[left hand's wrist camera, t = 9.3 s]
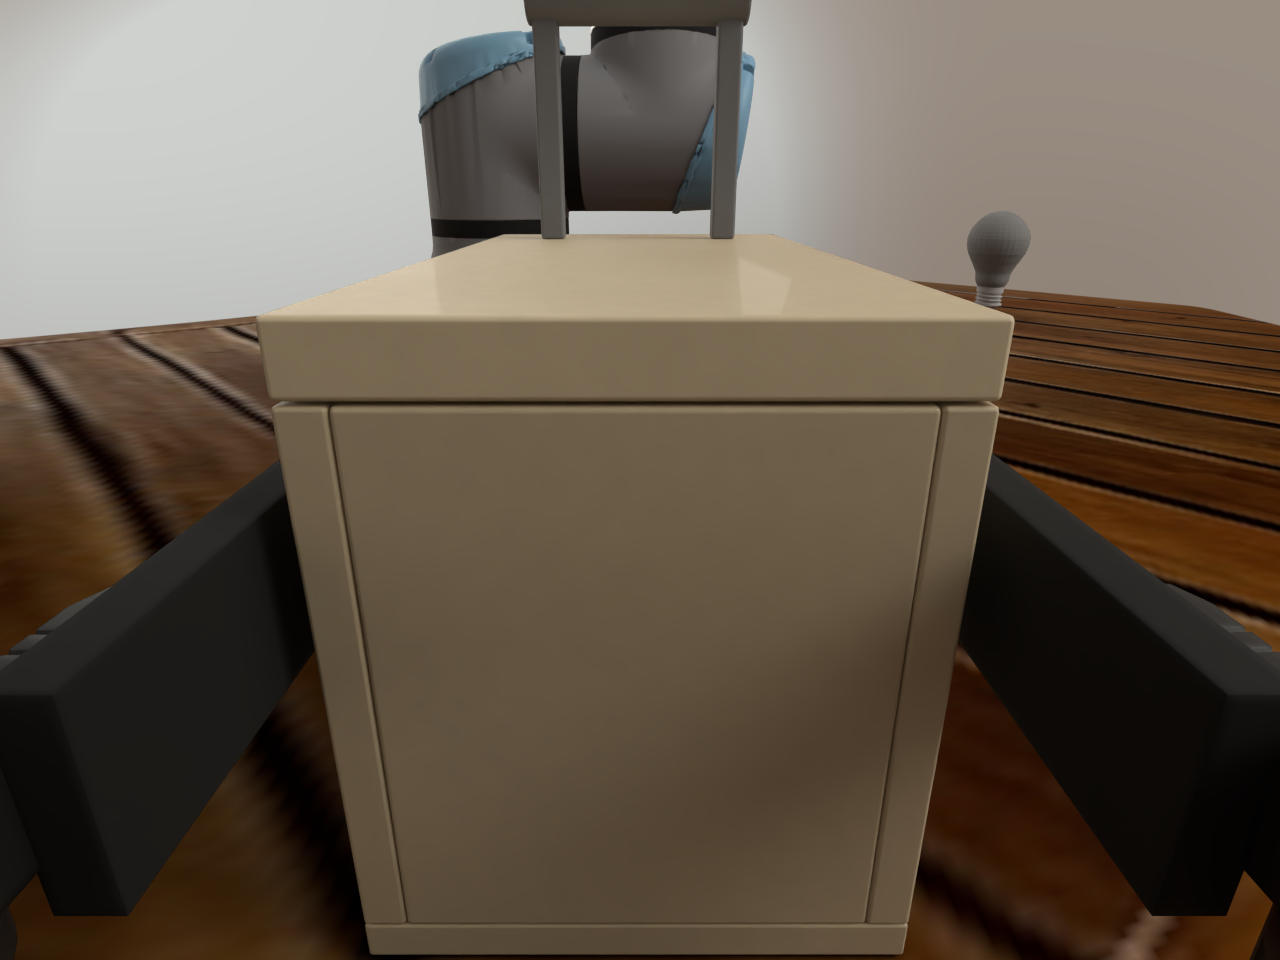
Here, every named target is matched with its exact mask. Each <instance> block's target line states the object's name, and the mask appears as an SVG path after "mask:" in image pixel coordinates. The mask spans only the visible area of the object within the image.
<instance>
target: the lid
mask: <svg viewBox="0 0 1280 960" xmlns="http://www.w3.org/2000/svg"><path fill="white" fill-rule="evenodd" d="M751 1H752V0H524V7H525V14H526V18H527V22H528V24H529V25H530V26H532V34H533V56H534V78H535V100H536V122H537V144H538V167H539V189H540V211H541V233H542V234H504V235H501V236H498V237H495V238H492V239H489V240H485V241H482V242H479V243H476V244H473V245H470V246H467V247H464V248H461V249H458V250H455V251H452V252H449V253H446V254H443V255H440V256H437V257H434V258H431V259H428V260H425V261H422V262H419V263H416V264H413V265H410V266H407V267H404V268H401V269H398V270H395V271H392V272H389V273H386V274H383V275H380V276H377V277H374V278H371V279H368V280H365V281H362V282H359V283H355V284H352V285H349V286H346V287H343V288H340V289H337V290H334V291H331V292H328V293H325V294H322V295H319V296H316V297H313V298H310V299H307V300H304V301H301V302H298V303H295V304H292V305H289V306H286V307H283V308H280V309H277V310H274V311H271V312H268V313H265V314H262V315H259V316H257V317H256V322H255V324H256V329H257V335H258V340H259V345H260V351H261V356H262V362H263V367H264V373H265V378H266V384H267V389H268V395H269V397H270V399H271V400H274V401H996V400H999V399H1000V398H1001V396H1002V390H1003V385H1004V379H1005V373H1006V368H1007V362H1008V357H1009V351H1010V345H1011V340H1012V334H1013V328H1014V317H1013V316H1011V315H1008V314H1006V313H1003V312H1000V311H997V310H994V309H991V308H988V307H985V306H982V305H979V304H976V303H973V302H970V301H967V300H964V299H961V298H958V297H955V296H952V295H950V294H947V293H944V292H941V291H938V290H935V289H932V288H929V287H926V286H923V285H920V284H917V283H914V282H911V281H908V280H905V279H902V278H899V277H896V276H894V275H891V274H887V273H885V272H882V271H879V270H876V269H873V268H870V267H867V266H864V265H861V264H858V263H855V262H852V261H849V260H846V259H843V258H840V257H838V256H835V255H832V254H829V253H826V252H823V251H820V250H817V249H814V248H811V247H808V246H805V245H802V244H799V243H796V242H793V241H790V240H787V239H784V238H782V237H779V236H776V235H773V234H734V229H735V206H736V183H737V160H738V136H739V113H740V90H741V67H742V43H743V26H745V25H747V23H748V20H749V16H750V10H751ZM559 26H717V27H716V58H715V89H714V121H713V152H712V184H711V215H710V234H566V217H565V188H564V158H563V128H562V99H561V69H560V40H559Z"/></svg>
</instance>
